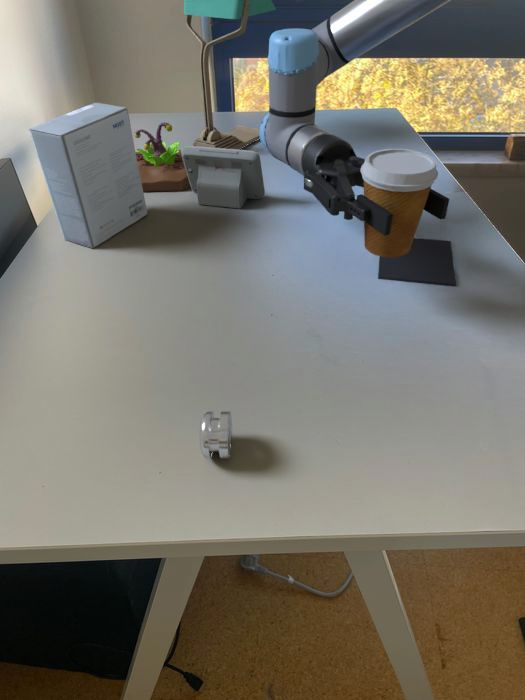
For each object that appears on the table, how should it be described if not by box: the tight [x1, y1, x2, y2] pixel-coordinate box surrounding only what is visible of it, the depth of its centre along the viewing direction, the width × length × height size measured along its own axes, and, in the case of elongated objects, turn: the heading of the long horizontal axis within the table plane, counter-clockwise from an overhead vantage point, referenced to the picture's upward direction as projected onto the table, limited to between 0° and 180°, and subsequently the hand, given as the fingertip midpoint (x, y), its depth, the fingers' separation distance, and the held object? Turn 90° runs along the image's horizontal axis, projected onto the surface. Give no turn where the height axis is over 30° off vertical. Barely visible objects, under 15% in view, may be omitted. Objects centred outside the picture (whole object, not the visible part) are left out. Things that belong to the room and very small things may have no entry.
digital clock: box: [180, 145, 266, 209], centre depth 103 cm, size 16×9×11 cm, turn 63°
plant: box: [134, 121, 191, 193], centre depth 113 cm, size 20×20×11 cm
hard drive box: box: [28, 102, 148, 249], centre depth 91 cm, size 16×8×20 cm, turn 150°
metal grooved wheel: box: [199, 410, 233, 460], centre depth 55 cm, size 5×3×5 cm, turn 178°
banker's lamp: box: [183, 0, 277, 150], centre depth 119 cm, size 16×21×35 cm
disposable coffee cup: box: [361, 148, 439, 258], centre depth 68 cm, size 10×10×12 cm
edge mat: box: [377, 237, 457, 287], centre depth 87 cm, size 12×14×1 cm
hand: (417, 217), depth 64 cm, fingers closed on disposable coffee cup, 8 cm apart
